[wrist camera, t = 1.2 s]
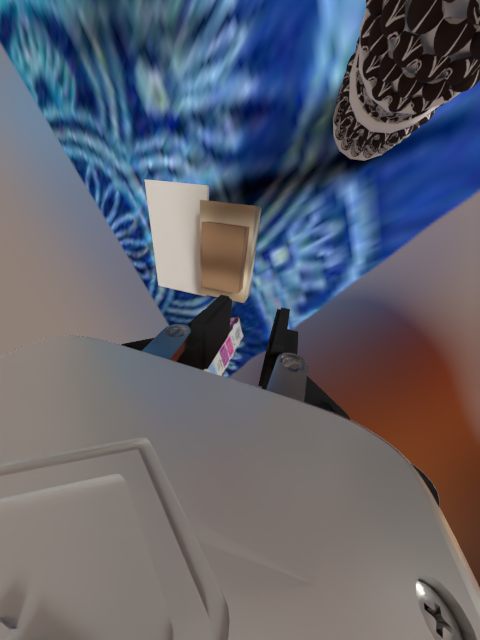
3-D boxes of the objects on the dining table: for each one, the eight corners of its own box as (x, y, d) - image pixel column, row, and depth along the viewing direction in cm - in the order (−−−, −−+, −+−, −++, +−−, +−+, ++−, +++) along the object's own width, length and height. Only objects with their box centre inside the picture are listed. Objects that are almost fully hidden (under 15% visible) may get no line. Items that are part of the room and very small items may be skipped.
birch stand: (211, 201, 29) (199, 199, 25) (261, 207, 27) (255, 205, 24) (210, 286, 36) (200, 293, 33) (249, 294, 34) (243, 303, 31)
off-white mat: (147, 180, 30) (144, 179, 29) (209, 185, 28) (207, 185, 27) (160, 284, 39) (158, 285, 39) (207, 295, 37) (206, 296, 36)
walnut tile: (209, 221, 26) (201, 221, 24) (249, 226, 25) (244, 227, 23) (208, 281, 31) (201, 286, 29) (242, 288, 30) (238, 293, 28)
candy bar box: (239, 314, 37) (201, 371, 23) (244, 335, 39) (213, 399, 25) (192, 319, 41) (137, 369, 27) (199, 337, 43) (151, 393, 29)
